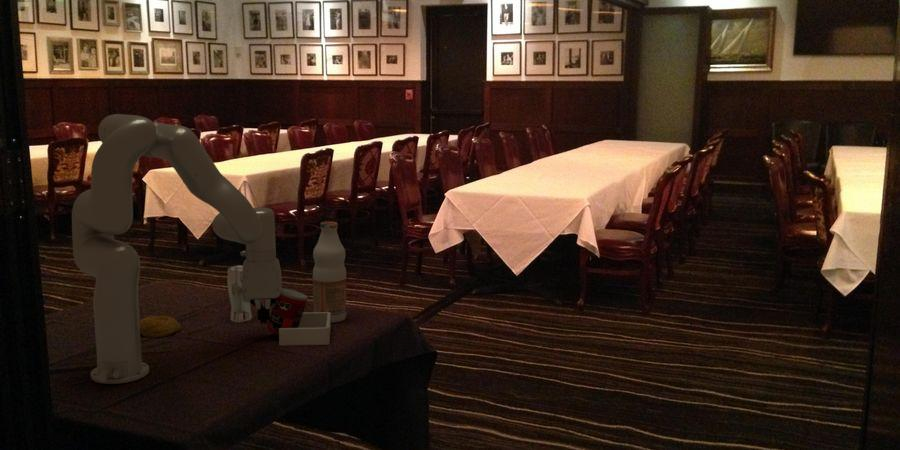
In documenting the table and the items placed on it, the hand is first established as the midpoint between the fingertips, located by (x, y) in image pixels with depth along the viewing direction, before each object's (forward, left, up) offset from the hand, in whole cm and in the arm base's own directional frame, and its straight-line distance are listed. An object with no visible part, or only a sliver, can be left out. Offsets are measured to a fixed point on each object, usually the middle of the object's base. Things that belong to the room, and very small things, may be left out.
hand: (263, 322), depth 218 cm
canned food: (-1, -4, -3) cm, 5 cm away
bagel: (+6, +28, -4) cm, 29 cm away
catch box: (-1, -11, -4) cm, 12 cm away
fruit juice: (+15, -17, -4) cm, 23 cm away
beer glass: (+16, +8, -4) cm, 18 cm away
